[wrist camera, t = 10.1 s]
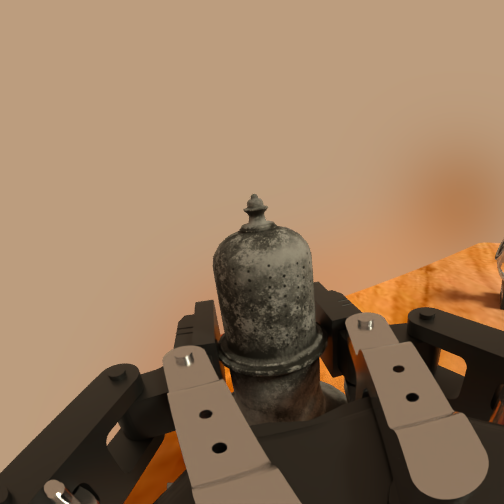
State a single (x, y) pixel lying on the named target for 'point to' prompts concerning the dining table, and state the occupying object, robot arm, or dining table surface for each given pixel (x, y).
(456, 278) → the dining table surface
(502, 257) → the watch
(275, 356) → the salt shaker
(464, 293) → the dining table surface
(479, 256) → the dining table surface
